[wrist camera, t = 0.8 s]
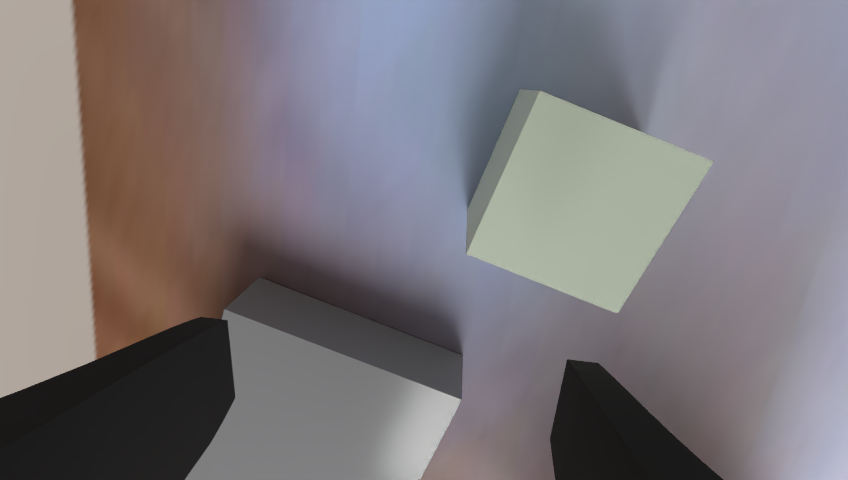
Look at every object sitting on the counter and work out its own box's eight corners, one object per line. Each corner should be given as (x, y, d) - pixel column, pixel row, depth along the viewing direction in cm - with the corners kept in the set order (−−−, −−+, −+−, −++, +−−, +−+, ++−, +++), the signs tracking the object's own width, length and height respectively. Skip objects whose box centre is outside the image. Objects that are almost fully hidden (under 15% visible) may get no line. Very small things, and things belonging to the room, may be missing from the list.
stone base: (462, 355, 20) (461, 399, 17) (392, 497, 23) (381, 553, 21) (259, 277, 20) (223, 309, 17) (218, 432, 23) (183, 481, 20)
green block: (642, 139, 16) (713, 161, 11) (578, 253, 18) (617, 313, 13) (519, 89, 16) (540, 90, 11) (467, 209, 18) (465, 253, 13)
